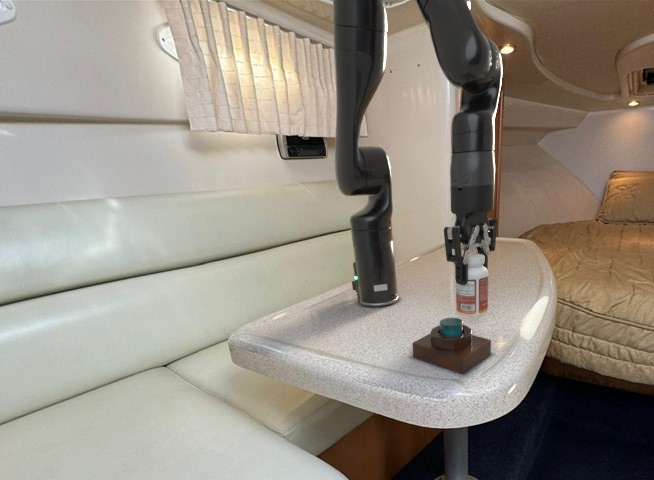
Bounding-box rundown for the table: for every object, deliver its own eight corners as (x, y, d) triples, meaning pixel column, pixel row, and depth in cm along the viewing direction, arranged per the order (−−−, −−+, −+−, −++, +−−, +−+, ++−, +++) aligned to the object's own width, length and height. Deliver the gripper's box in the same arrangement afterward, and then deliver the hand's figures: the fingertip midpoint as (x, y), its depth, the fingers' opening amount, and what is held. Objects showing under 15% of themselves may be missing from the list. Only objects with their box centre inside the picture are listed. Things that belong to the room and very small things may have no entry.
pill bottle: (480, 305, 75) (481, 251, 71) (492, 315, 70) (494, 257, 65) (452, 309, 74) (451, 254, 69) (462, 319, 69) (461, 260, 64)
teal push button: (435, 334, 58) (435, 322, 57) (448, 327, 61) (448, 316, 60) (453, 339, 56) (453, 327, 55) (466, 332, 58) (466, 320, 58)
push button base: (413, 357, 60) (411, 332, 58) (442, 341, 66) (441, 317, 64) (463, 374, 54) (462, 347, 52) (490, 354, 60) (491, 329, 58)
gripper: (476, 182, 69) (475, 269, 76) (428, 186, 59) (433, 286, 67) (512, 180, 64) (508, 273, 72) (466, 184, 55) (467, 292, 62)
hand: (471, 279), depth 69 cm, fingers closed on pill bottle, 6 cm apart
